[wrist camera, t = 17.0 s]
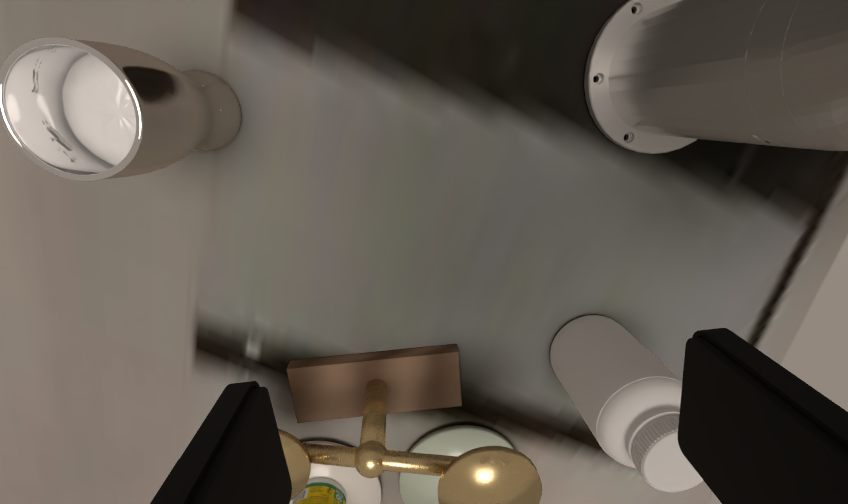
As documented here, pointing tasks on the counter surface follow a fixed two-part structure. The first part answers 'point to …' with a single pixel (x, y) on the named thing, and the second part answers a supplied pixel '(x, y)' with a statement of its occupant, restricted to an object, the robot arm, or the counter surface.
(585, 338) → the pill bottle
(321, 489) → the supplement bottle
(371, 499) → the cream dish
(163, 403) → the counter surface
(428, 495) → the pale green dish
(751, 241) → the counter surface
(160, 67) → the beer glass
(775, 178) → the counter surface
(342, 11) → the counter surface
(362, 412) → the brass balance
